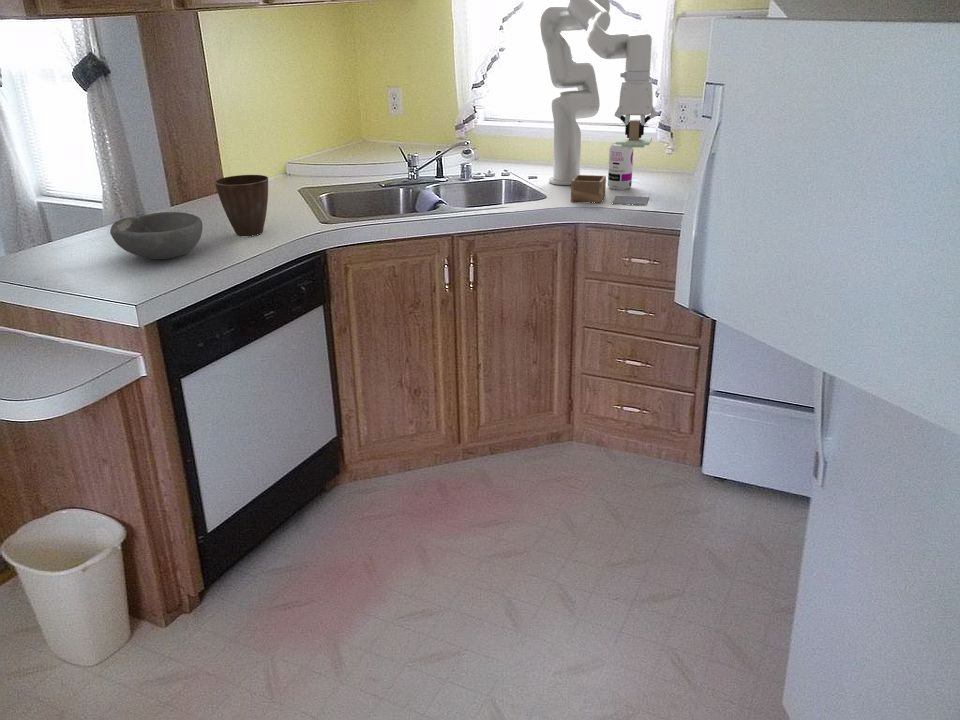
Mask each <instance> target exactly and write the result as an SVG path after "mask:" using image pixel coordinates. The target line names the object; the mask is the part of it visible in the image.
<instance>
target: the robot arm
mask: <svg viewBox="0 0 960 720" xmlns="http://www.w3.org/2000/svg"><path fill="white" fill-rule="evenodd" d="M610 10H611V2H610V0H568V1H567V2H566V3H559V4H558V3H557V4H551V5H548V6H546V7H545V8H543V10H542V11H541V13H540V15H539V19H538V32H539V35H540V38H541V41H542V43H543V46H544V50H545V53H546V59H547V65H548V69H549V75H550V79H551V83H552V85H553V87H555V88H557V89H571V88H572V89H573V88H574V89H575V88H577V90H567V91H562V92H559V93H557V94H556V95H554V97H553V98H552V100H551V111H552V112H551V113H552V119H553V176H552V177H550V178H549V180H548V182H549V183H550V184H552V185H559V186H571V181H572V179H573V178H574V177H575V176H576V175H581V174H580V173H581V145H582V144H581V142H582V141H581V140H582V133H581V132H582V131H581V129H580V126H579V124H578V122H577V120H578V119H587V118H588V119H589V118H592V117H595V116H596V115H598V113H599V110H600V106H601V105H600V104H601V103H600V95H599V88H598V83H597V77H596V72H595V68H594V66H593V65H592V63H591V61H589V60H587V59H586V58H573V55H572V51H571V45H570V43H569V42H568V40H567V38H566V37H565V36H564V35H563V33H562V32H567V31H568V32H569V31H583V30H585V32H586V40H587V44H588V47H589V48H590V50H592V51H593V52H594V53H595V54H596V55H597V56H599V57H600V58H602V59H604V60H616V59H618V60H619V59H625V67H624V69H625V71H624V72H620V78H623V79H624V80H623V81H622V82H621V87H620V92H619V99H618V100H619V102H618V107H617V109H616V111H615V112H614V114H613V115H614V117H616V118H618V119H619V120H621V121H622V122H623V124H624V125H625V127H624V128H625V131H624V134H625V136H626V137H627V138H629V127H630V120H631V116H640V125H639V138H641V137H642V136H644V135H645V134H644V132H645V124H646V123H648V122H649V121H650V120H652V119H653V118H655V117H657V112H656V109H655V108H654V105H653V104H654V103H653V102H654V101H653V97H654V95H653V94H654V93H653V82H652V81H651V80H650V77H651V62H652V61H651V60H652V41H653V39H652V36H651V35H650V34H648V33H635V32H611V33H608V32H607V30H608V29H609V27H610V24H611V16H610Z"/></svg>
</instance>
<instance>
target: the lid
mask: <svg viewBox="0 0 960 720" xmlns="http://www.w3.org/2000/svg"><path fill="white" fill-rule="evenodd" d="M629 122H630V127H629V138H627V136H619V137H618V138H617V140H616V141H615V143H616V145H622V147H633V148H645V146H650V144H651V143H652V140H653V137H641V138H639V125H640V123H641V119H630V121H629Z"/></svg>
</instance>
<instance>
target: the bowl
mask: <svg viewBox="0 0 960 720" xmlns="http://www.w3.org/2000/svg"><path fill="white" fill-rule="evenodd" d="M109 233H110V236H111V238H112V239H113V241H114V242H115V243H116V244H117V246H119V247H120V248H121V249H122V250H124V251H125V252H127V253H130V254H132V255H134V256H137V257H140V258H143V259H148V260H149V259H150V260H165V259H175V258H177V257H182V256H184V255H186V254H188V253H189V252H191V251H192V250H194V248H195V247H196V246H197V245H198V244H199V241H200V240H201V238H202V233H203V222H202V219H201V218H200V217H199V216H197V215H195V214H193V213H187V212H179V211H165V212H164V211H163V212H154V213H147V214H142V215H139V216H129V217H123V218H121V219H119V220H118V221H115V222H114V223H112V225H111V226H110V231H109Z"/></svg>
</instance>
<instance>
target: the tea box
mask: <svg viewBox="0 0 960 720" xmlns="http://www.w3.org/2000/svg"><path fill="white" fill-rule="evenodd" d="M606 183H607V175H590V174H589V175H588V174H580V175H576V176H575V177H574V178H573V179H572V181H571V185H570V203H578V202H590V203H589V204H602V203H603V201H604V199H605V198H604V197H606V186H607V185H606ZM602 200H603V201H602ZM592 202H593V203H592ZM594 202H595V203H594ZM601 202H602V203H601Z"/></svg>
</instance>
